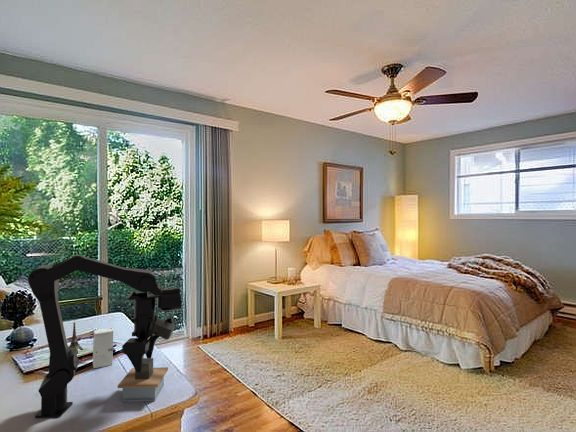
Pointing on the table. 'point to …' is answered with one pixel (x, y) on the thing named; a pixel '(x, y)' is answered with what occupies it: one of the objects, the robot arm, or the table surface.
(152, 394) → the grey open-top tray
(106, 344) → the skincare box
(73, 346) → the eiffel tower figurine
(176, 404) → the table surface
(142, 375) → the lid
